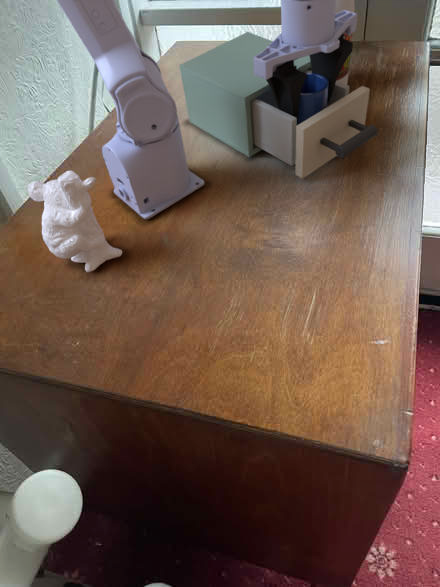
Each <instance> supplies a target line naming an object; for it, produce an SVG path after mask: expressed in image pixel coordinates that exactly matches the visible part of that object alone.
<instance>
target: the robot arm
mask: <svg viewBox="0 0 440 587" xmlns="http://www.w3.org/2000/svg"><path fill="white" fill-rule="evenodd" d="M56 2H57V3H58V5H59V6H60V8H61V9H62V12H63V13H64V15H65V16H66V18H67V20H68V21H69V23H70V24H71V26H72V28H73V29H74V31H75V32H76V34H77V36H78V37H79V39H80V40H81V42H82V44H83V45H84V47H85V48H86V51H87V52H88V53H89V55H90V57H91V58H92V59H93V61H94V63H95V66H96V68H97V70H98V72H99V74H100V76H101V80H102V81H103V83H104V85H105V87H106V89H107V91H108V93H109V95H110V96H111V97H112V100H113V103H114V107H115V111H116V118H117V122H116V126H115V127H116V133H115V134H114V135H113V137H112V138H111V139H110V140H109V141H108V142H106V143H105V144H104V145H103V146H102V148H101V155H102V157H103V160H104V163H105V166H106V169H107V172H108V174H109V177H110V179H111V182H112V185H113V188H114V189H113V194H115V195H116V196H117V197H118V198H119V199H120V200H122V201H123V202H124V203H125V204H126V205H127V206H129V207H130V208H131V209H132V210H133V211H134V212H135V213H136V214H138V215H139V216H140V217H141V218H143V219H144V220H149V219H151V218H153V217H154V216H156V215H158V214H159V213H161V212H162V211H164V210H165V209H167V208H169V207H171V206H173V205H174V204H175V203H177V202H179V201H181V200H182V199H184V198H186V197H187V196H189V195H190V194H192V193H193V192H195V191H197V190H199V189H200V188H201V187H203V186H204V185H205V180H204V179H202V178H201V177H199V176H198V175H197V174H195V173H194V172H192V171H191V170H189V165H188V160H187V156H186V150H185V146H184V142H183V141H184V140H183V136H182V131H181V125H180V122H179V121H180V120H179V116H178V108H177V104H176V102H175V99H174V98H173V96H172V95H171V93H170V92H169V90H168V88H167V85H166V83H165V81H164V79H163V77H162V73H161V69H160V67H159V65H158V63H157V61H156V60H155V59H154V58H153V57H152V56H150V55H149V54H147V53H146V52H145V51H144V50H142V48H140V46H139V44H138V42H137V41H136V39H135V37H134V35H133V34H132V32H131V30H130V28H129V26H128V25H127V23H126V22H125V19H124V17H123V16H122V13H121V12H120V10H119V7H118V6H117V5H116V2H115V0H56ZM335 7H336V0H280V16H281V17H280V21H281V22H280V23H281V24H280V26H281V27H280V28H281V31H280V32H281V33H280V34H279V35H278V36H277V37H276V38H275V39H273V40H272V41H273V42H272V43H271V44H270V45H269V46H268V47H267V48H266V49H265V50H263V51H262V52H261V53H260V54H258V55H256V56H255V57H253V62H254V75H256V76H258V77H261V78H263V79H265V80H266V81H267V82H268V84H269V86H270V88H271V90H272V92H273V94H274V96H275V99H276V102H277V105H278V108H279V110H281V111H283V112H285V113H287V114H289V115H291V116H293V117H295V118H297V119H298V113H299V100H300V95H301V90H302V87H303V84H304V81H305V79H306V77H307V74H306V73H304V72H301V71H299V70H296V69H297V66H296V65H295V66H294V61H295V60H297V59H298V58H301V57H305V56H308V55H309V56H310V61H311V68H312V73H314V74H319V75H322V76H324V77H326V78H327V80H328V81H329V87H328V101H327V104H328V103H329V100H330V98H331V95H332V92H333V89H334V86H335V83H336V80H337V77H338V75H339V73H340V71H341V69H342V67H343V65H344V63H345V61H346V60H347V58H348V57H349V55H350V56H351V54H352V53H353V50H354V49H353V47H354V43H353V41H352V42H351V41H348V40H345V39H344V33H347V34H351V33H353V34H354V33H355V32H357V24H358V13H356V12H354V13H353V12H350V11H346V10H343V11H341V12H339V13H336V14H335Z"/></svg>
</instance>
